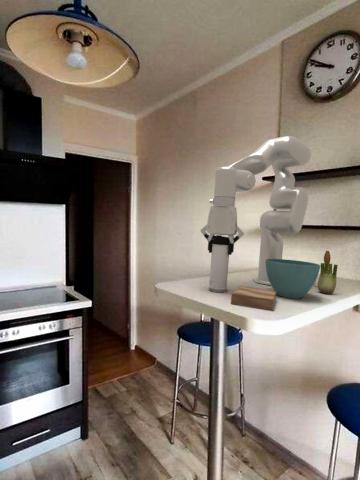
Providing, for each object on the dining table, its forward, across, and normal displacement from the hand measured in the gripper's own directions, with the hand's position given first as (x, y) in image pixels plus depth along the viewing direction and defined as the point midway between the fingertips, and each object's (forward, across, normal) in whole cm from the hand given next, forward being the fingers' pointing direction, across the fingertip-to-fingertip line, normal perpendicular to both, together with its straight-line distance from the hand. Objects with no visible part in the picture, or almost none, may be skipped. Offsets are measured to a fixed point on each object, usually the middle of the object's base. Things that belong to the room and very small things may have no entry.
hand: (220, 253), depth 102 cm
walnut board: (+14, +14, -8) cm, 21 cm away
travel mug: (+14, 0, 0) cm, 14 cm away
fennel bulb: (+14, +37, +24) cm, 46 cm away
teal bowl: (+14, +24, +10) cm, 29 cm away
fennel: (+14, +38, +39) cm, 56 cm away
